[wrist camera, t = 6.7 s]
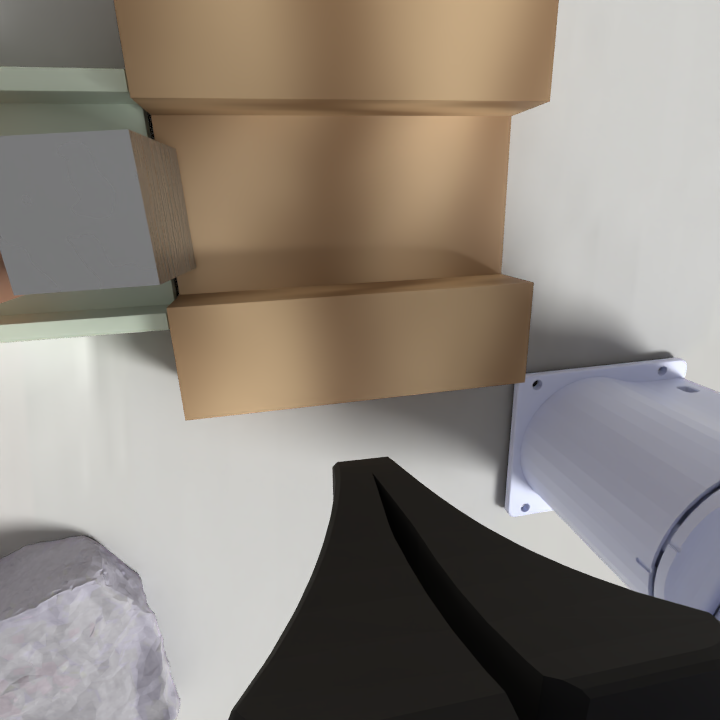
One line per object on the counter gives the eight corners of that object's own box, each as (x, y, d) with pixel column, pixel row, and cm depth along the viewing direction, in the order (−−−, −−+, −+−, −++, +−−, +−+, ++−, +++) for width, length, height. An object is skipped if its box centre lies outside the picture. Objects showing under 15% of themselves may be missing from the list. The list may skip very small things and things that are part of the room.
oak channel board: (505, 2, 17) (562, -48, 14) (485, 356, 21) (524, 382, 18) (135, -17, 15) (99, -82, 11) (198, 384, 19) (185, 420, 16)
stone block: (112, 491, 22) (-133, 600, 19) (101, 555, 18) (-215, 707, 15) (207, 649, 27) (21, 755, 24) (217, 730, 22) (-9, 871, 19)
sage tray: (143, 88, 16) (124, 68, 13) (180, 316, 18) (168, 329, 16) (-172, 84, 14) (-250, 61, 12) (-83, 335, 17) (-134, 353, 14)
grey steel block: (175, 148, 15) (128, 129, 12) (196, 267, 17) (159, 285, 13) (54, 155, 15) (-35, 138, 11) (84, 275, 16) (14, 295, 13)
